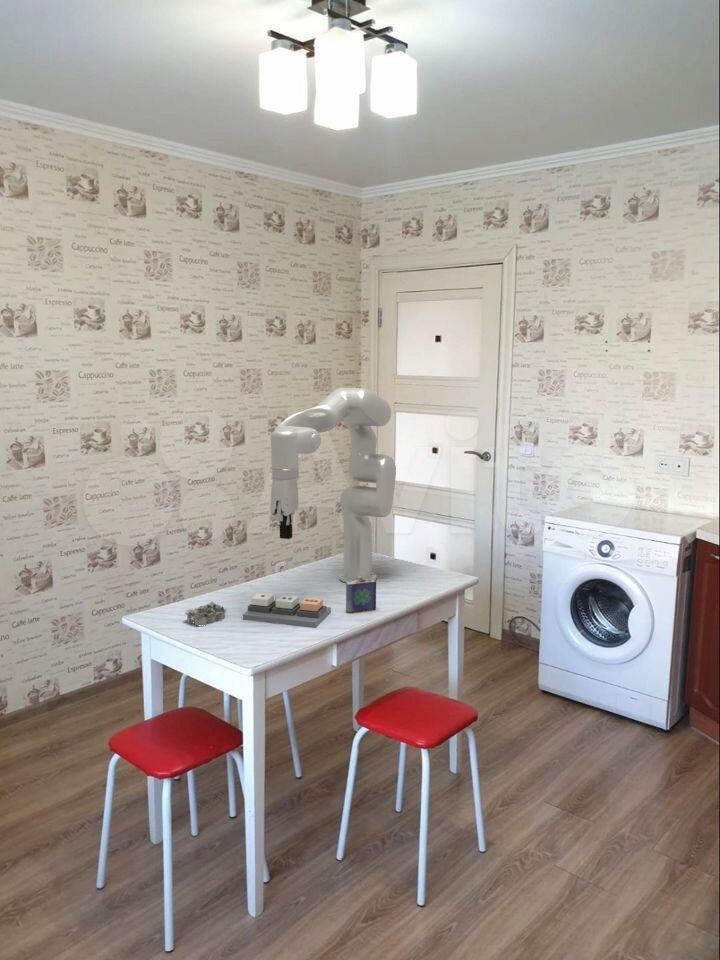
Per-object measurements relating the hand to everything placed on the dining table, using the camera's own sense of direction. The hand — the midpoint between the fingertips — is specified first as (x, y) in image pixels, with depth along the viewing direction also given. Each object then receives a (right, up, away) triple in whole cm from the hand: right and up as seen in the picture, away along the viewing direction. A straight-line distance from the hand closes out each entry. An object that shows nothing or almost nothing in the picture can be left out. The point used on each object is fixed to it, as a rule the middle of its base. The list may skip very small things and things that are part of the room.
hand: (286, 537), depth 214 cm
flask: (+21, -22, +8) cm, 32 cm away
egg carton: (-23, -24, +1) cm, 33 cm away
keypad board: (0, -23, +4) cm, 23 cm away
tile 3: (+7, -20, +1) cm, 21 cm away
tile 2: (0, -20, +3) cm, 20 cm away
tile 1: (-7, -19, +5) cm, 21 cm away
